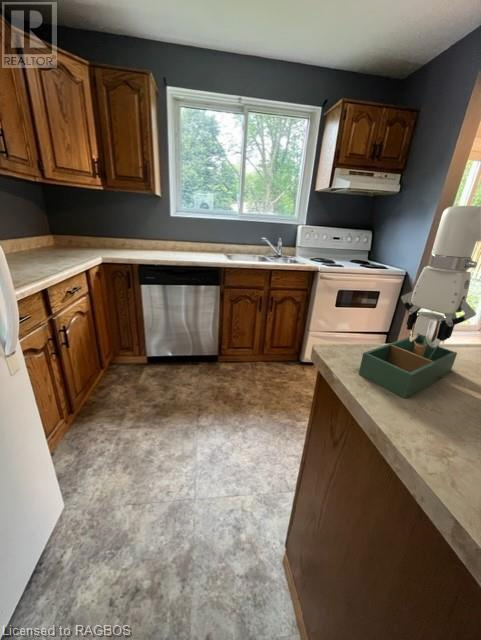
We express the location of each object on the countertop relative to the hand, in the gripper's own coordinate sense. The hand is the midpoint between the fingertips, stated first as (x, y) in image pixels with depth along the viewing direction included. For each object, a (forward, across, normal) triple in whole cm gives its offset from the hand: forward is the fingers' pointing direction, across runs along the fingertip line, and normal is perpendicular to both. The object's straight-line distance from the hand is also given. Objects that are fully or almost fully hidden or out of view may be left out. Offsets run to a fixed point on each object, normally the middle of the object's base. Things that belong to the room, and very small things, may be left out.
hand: (426, 333), depth 69 cm
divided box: (+10, 0, +5) cm, 12 cm away
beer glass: (+10, 0, 0) cm, 10 cm away
